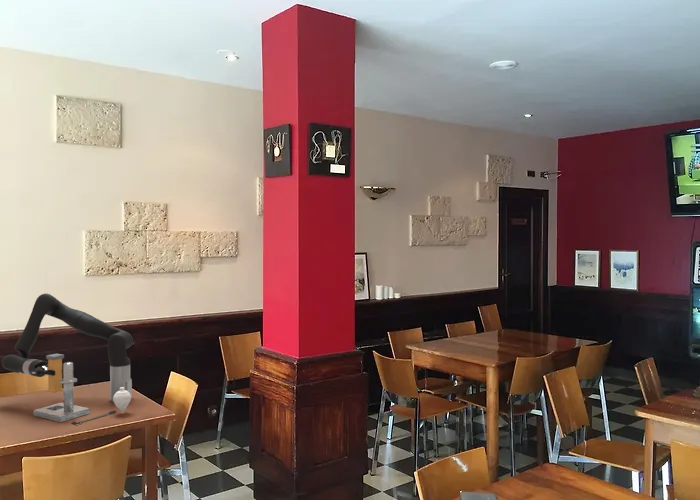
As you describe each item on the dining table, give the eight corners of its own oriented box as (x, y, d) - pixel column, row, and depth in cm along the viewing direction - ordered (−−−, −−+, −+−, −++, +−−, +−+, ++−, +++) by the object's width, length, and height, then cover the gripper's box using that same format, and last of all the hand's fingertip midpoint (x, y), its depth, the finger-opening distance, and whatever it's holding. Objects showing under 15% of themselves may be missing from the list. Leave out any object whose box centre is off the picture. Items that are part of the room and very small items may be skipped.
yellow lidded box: (46, 391, 267) (46, 355, 266) (56, 389, 271) (56, 353, 271) (53, 393, 264) (53, 356, 264) (64, 390, 269) (64, 354, 268)
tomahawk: (79, 429, 250) (79, 426, 250) (70, 425, 254) (70, 422, 253) (122, 415, 267) (122, 413, 267) (114, 411, 271) (114, 409, 271)
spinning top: (126, 410, 273) (126, 384, 273) (134, 413, 268) (133, 387, 268) (110, 413, 268) (110, 387, 268) (117, 417, 263) (117, 390, 262)
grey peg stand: (33, 415, 264) (33, 362, 264) (61, 407, 277) (61, 356, 276) (61, 422, 255) (60, 367, 255) (89, 413, 268) (88, 361, 267)
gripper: (20, 362, 268) (44, 367, 260) (49, 357, 280) (73, 361, 272) (20, 379, 268) (44, 384, 260) (49, 372, 281) (73, 377, 273)
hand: (59, 372), depth 266 cm, fingers closed on yellow lidded box, 4 cm apart
